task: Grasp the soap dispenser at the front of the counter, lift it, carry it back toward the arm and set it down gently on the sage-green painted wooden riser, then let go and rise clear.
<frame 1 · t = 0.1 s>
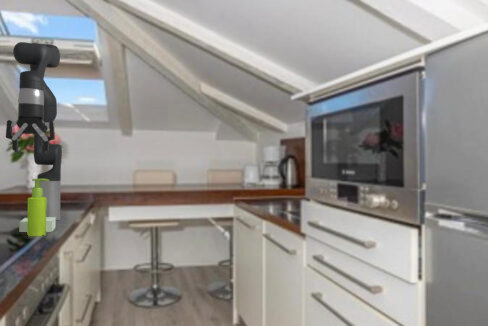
hand: (30, 152, 135), 29 cm above the counter, fingers open, 8 cm apart
riser: (38, 229, 154), on the counter
soap dispenser: (38, 235, 144), on the counter
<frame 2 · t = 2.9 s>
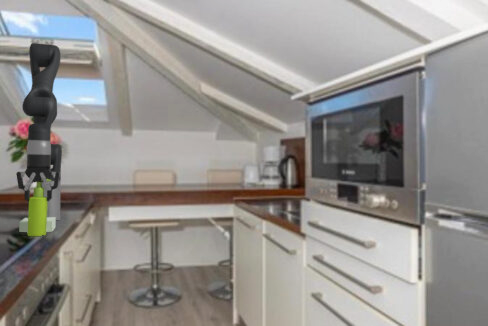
hand: (38, 200, 144), 12 cm above the counter, fingers closed on soap dispenser, 6 cm apart
soap dispenser: (38, 235, 144), on the counter, touching gripper
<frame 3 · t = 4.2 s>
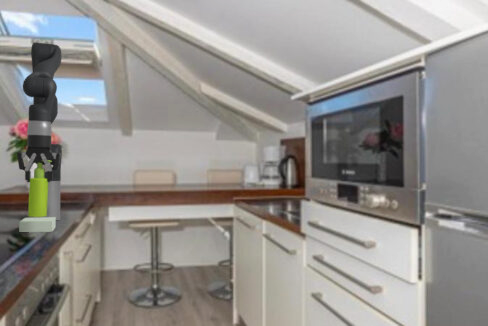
hand: (38, 181, 144), 19 cm above the counter, fingers closed on soap dispenser, 6 cm apart
soap dispenser: (38, 216, 144), point 7 cm above the counter, touching gripper
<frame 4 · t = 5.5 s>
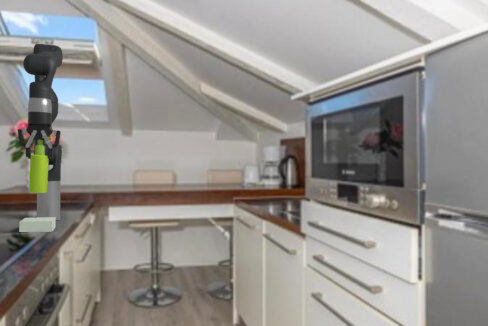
hand: (39, 158, 145), 27 cm above the counter, fingers closed on soap dispenser, 6 cm apart
soap dispenser: (39, 192, 146), point 15 cm above the counter, touching gripper
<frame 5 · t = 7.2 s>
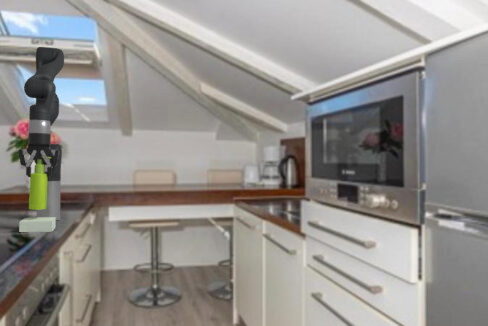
hand: (38, 176, 154), 20 cm above the counter, fingers closed on soap dispenser, 6 cm apart
soap dispenser: (38, 209, 154), point 8 cm above the counter, touching gripper
when the fingers open (17 cm above the counter, at t = 8.5 s): soap dispenser stays where it is, resting on riser.
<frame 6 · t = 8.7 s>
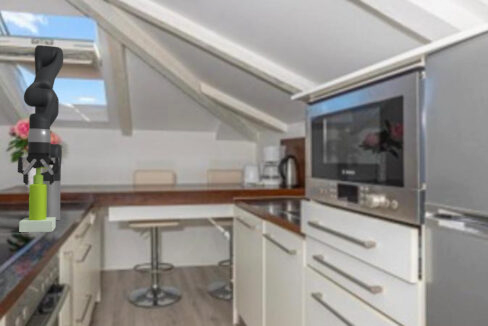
hand: (38, 184, 154), 17 cm above the counter, fingers open, 8 cm apart
soap dispenser: (39, 219, 154), point 4 cm above the counter, touching riser
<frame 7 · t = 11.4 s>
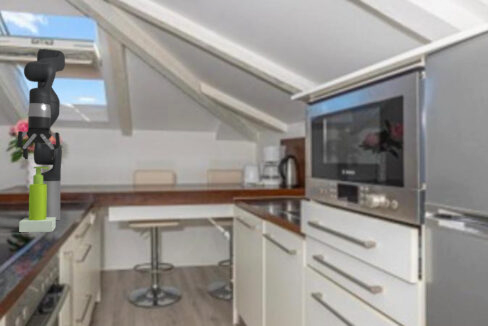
hand: (38, 159, 153), 27 cm above the counter, fingers open, 8 cm apart
nothing on the counter moved.
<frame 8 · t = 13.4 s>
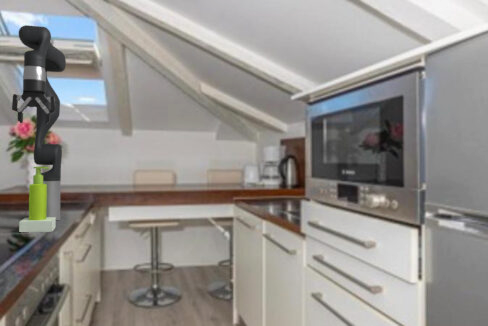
hand: (33, 123, 152), 40 cm above the counter, fingers open, 8 cm apart
nothing on the counter moved.
at the end: soap dispenser 0.2 cm off-centre on the riser, point 3.8 cm above the riser's base; soap dispenser tilted 0°; the gripper is holding nothing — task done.
